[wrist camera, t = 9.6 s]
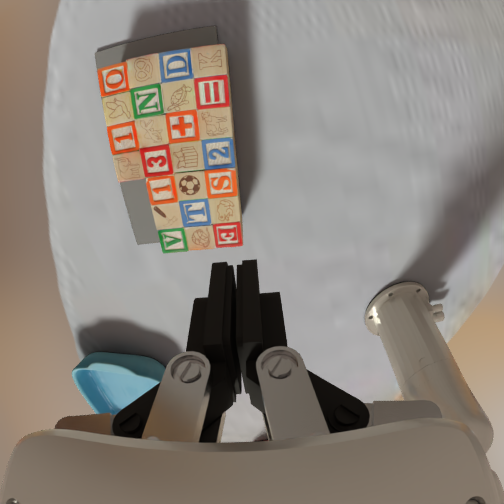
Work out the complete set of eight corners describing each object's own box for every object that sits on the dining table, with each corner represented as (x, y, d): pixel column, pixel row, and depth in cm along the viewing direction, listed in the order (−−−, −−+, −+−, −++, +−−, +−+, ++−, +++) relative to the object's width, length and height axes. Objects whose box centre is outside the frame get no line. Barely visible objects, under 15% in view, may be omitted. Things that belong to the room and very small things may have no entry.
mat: (216, 26, 26) (215, 25, 26) (239, 232, 41) (239, 234, 40) (96, 53, 26) (94, 53, 26) (138, 242, 41) (137, 244, 41)
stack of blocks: (245, 247, 34) (138, 257, 34) (243, 220, 39) (150, 229, 39) (224, 41, 22) (94, 68, 22) (227, 46, 27) (117, 66, 27)
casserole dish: (67, 332, 52) (55, 359, 46) (172, 341, 53) (167, 373, 47) (118, 416, 73) (113, 437, 67) (194, 424, 74) (193, 446, 68)
